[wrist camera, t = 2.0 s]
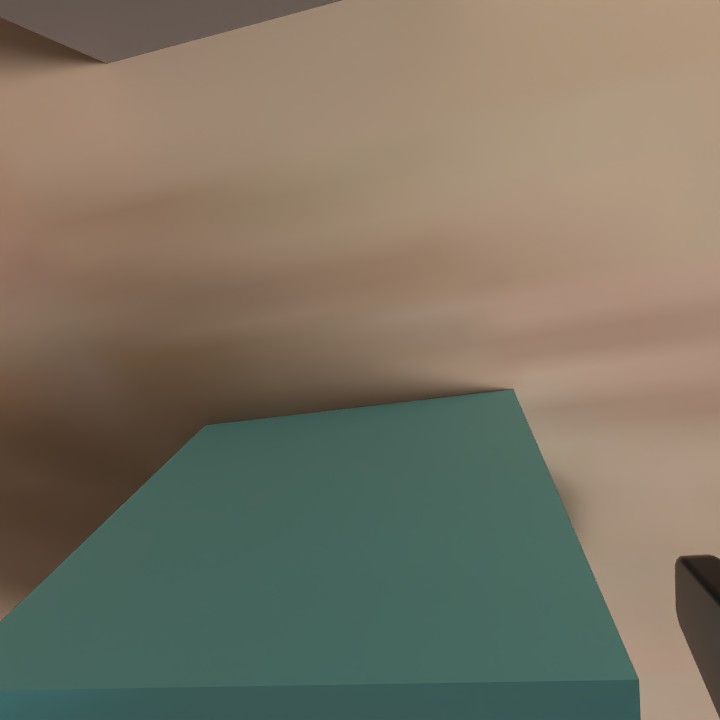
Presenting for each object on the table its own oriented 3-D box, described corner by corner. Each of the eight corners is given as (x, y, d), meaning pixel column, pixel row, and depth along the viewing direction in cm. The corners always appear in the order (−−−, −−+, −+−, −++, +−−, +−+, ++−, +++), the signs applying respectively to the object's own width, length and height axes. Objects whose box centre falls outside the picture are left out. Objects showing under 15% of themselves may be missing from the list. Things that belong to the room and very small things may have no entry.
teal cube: (512, 386, 8) (639, 679, 3) (540, 651, 9) (659, 1149, 4) (206, 423, 9) (-72, 690, 4) (273, 658, 10) (124, 1075, 5)
